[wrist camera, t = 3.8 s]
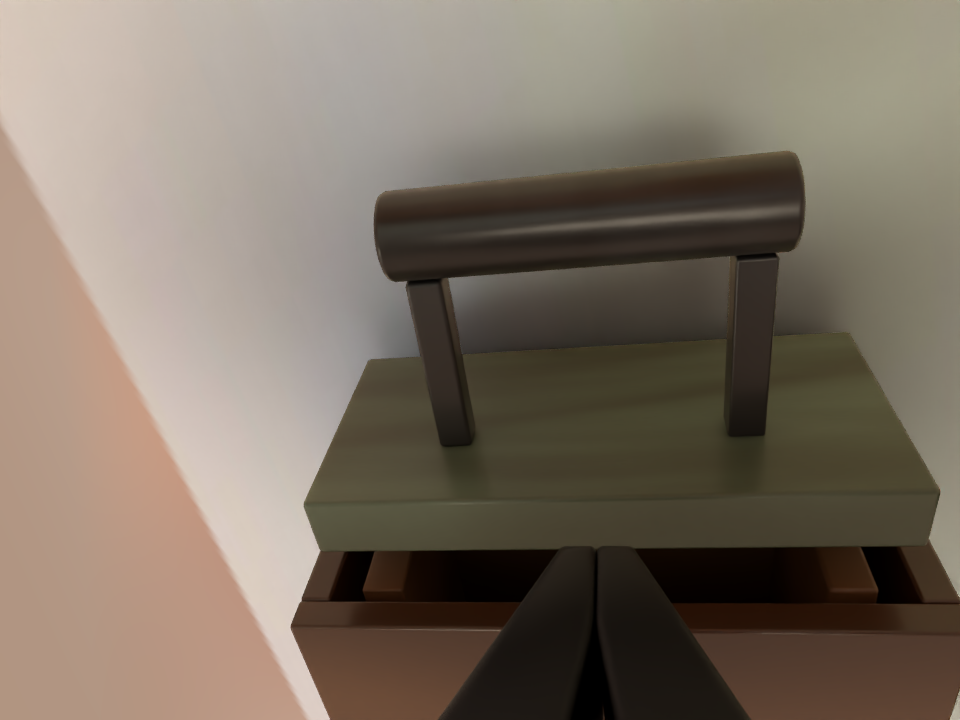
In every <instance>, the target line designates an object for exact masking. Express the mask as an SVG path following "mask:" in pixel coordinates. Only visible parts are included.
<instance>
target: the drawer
mask: <svg viewBox="0 0 960 720" xmlns="http://www.w3.org/2000/svg"><path fill="white" fill-rule="evenodd" d="M805 207H806V197H805V183H804V176H803V171H802V167H801V164H800V161H799V159H798V157H797V155H796V154H795V153H793V152H790V151H780V152H770V153H760V154H750V155H741V156H731V157H721V158H711V159H701V160H691V161H681V162H671V163H661V164H651V165H641V166H631V167H621V168H611V169H601V170H591V171H582V172H572V173H562V174H552V175H542V176H532V177H522V178H512V179H502V180H492V181H482V182H472V183H462V184H452V185H442V186H432V187H423V188H413V189H403V190H393V191H385V192H383V193H382V194H380V195H379V197H378V198H377V201H376V205H375V211H374V239H375V246H376V251H377V256H378V259H379V262H380V265H381V268H382V270H383V272H384V274H385V276H386V277H387V278H388V279H389V280H391V281H394V282H404V281H407V284H406V287H405V288H406V292H407V297H408V301H409V306H410V310H411V315H412V319H413V324H414V328H415V333H416V337H417V342H418V346H419V351H420V355H421V357H406V358H388V359H371V360H369V361H368V362H367V365H366V367H365V369H364V371H363V373H362V376H361V378H360V380H359V382H358V384H357V387H356V389H355V391H354V393H353V395H352V398H351V400H350V402H349V404H348V407H347V409H346V411H345V413H344V415H343V418H342V420H341V422H340V424H339V426H338V429H337V431H336V433H335V435H334V437H333V440H332V442H331V444H330V446H329V448H328V451H327V453H326V455H325V457H324V460H323V462H322V464H321V466H320V468H319V471H318V473H317V475H316V477H315V479H314V482H313V484H312V486H311V488H310V490H309V493H308V495H307V497H306V499H305V502H304V509H305V511H306V514H307V517H308V519H309V522H310V525H311V527H312V530H313V533H314V536H315V538H316V541H317V544H318V546H319V549H320V550H321V551H323V552H347V551H375V552H374V555H373V558H372V561H371V565H370V568H369V571H368V574H367V577H366V581H365V584H364V587H363V594H364V596H365V599H366V602H522V601H523V599H524V598H525V597H526V595H527V594H528V592H529V591H530V589H531V588H532V587H533V585H534V584H535V582H536V581H537V580H538V578H539V577H540V575H541V574H542V573H543V571H544V570H545V568H546V567H547V566H548V564H549V563H550V561H551V560H552V559H553V557H554V556H555V554H556V553H557V552H558V550H559V549H560V548H562V547H564V546H592V547H594V548H595V550H596V553H597V550H598V548H599V547H601V546H631V547H632V548H633V549H634V550H635V551H636V552H637V554H638V555H639V556H640V558H641V559H642V561H643V562H644V564H645V565H646V567H647V568H648V570H649V571H650V573H651V574H652V575H653V577H654V578H655V580H656V581H657V583H658V584H659V586H660V587H661V589H662V590H663V592H664V593H665V594H666V596H667V597H668V599H669V600H670V602H671V603H856V604H876V602H877V597H878V592H879V590H878V587H877V585H876V582H875V580H874V577H873V575H872V573H871V570H870V568H869V565H868V563H867V560H866V558H865V556H864V553H863V551H862V548H861V547H898V546H925V545H926V544H927V543H928V539H929V535H930V531H931V528H932V524H933V520H934V516H935V512H936V508H937V504H938V500H939V496H940V489H939V487H938V485H937V484H936V482H935V480H934V479H933V477H932V475H931V473H930V472H929V470H928V468H927V466H926V465H925V463H924V461H923V460H922V458H921V456H920V454H919V453H918V451H917V449H916V447H915V446H914V444H913V442H912V441H911V439H910V437H909V435H908V434H907V432H906V430H905V428H904V427H903V425H902V423H901V421H900V420H899V418H898V416H897V415H896V413H895V411H894V409H893V408H892V406H891V404H890V402H889V401H888V399H887V397H886V396H885V394H884V392H883V390H882V389H881V387H880V385H879V383H878V382H877V380H876V378H875V377H874V375H873V373H872V371H871V370H870V368H869V366H868V364H867V363H866V361H865V359H864V358H863V356H862V354H861V352H860V351H859V349H858V347H857V345H856V344H855V342H854V340H853V339H852V337H851V335H850V333H848V332H836V333H819V334H802V335H785V336H773V332H774V319H775V307H776V294H777V282H778V269H779V256H778V254H777V253H779V252H790V251H792V250H794V249H795V248H796V247H797V246H798V244H799V242H800V239H801V236H802V232H803V228H804V221H805ZM727 256H730V267H729V291H728V316H727V339H716V340H699V341H681V342H664V343H647V344H630V345H612V346H595V347H578V348H561V349H544V350H526V351H509V352H492V353H475V354H462V351H461V345H460V340H459V334H458V329H457V324H456V318H455V313H454V307H453V302H452V297H451V291H450V286H449V281H448V278H455V277H468V276H481V275H494V274H507V273H520V272H533V271H546V270H559V269H572V268H585V267H598V266H611V265H624V264H637V263H649V262H662V261H675V260H688V259H701V258H714V257H727Z"/></svg>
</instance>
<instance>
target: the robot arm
mask: <svg viewBox="0 0 960 720" xmlns="http://www.w3.org/2000/svg"><path fill="white" fill-rule="evenodd" d="M438 720H751V719H750V717H749V716H748V714H747V713H746V711H745V710H744V708H743V707H742V705H741V704H740V703H739V701H738V700H737V698H736V697H735V695H734V694H733V692H732V691H731V689H730V688H729V686H728V685H727V684H726V682H725V681H724V679H723V678H722V676H721V675H720V673H719V672H718V670H717V669H716V667H715V666H714V665H713V663H712V662H711V660H710V659H709V657H708V656H707V654H706V653H705V651H704V650H703V649H702V647H701V646H700V644H699V643H698V641H697V640H696V638H695V637H694V635H693V634H692V632H691V631H690V630H689V628H688V627H687V625H686V624H685V622H684V621H683V619H682V618H681V616H680V615H679V613H678V612H677V611H676V609H675V608H674V606H673V605H672V603H671V602H670V600H669V599H668V597H667V596H666V594H665V593H664V592H663V590H662V589H661V587H660V586H659V584H658V583H657V581H656V580H655V578H654V577H653V575H652V574H651V573H650V571H649V570H648V568H647V567H646V565H645V564H644V562H643V561H642V559H641V558H640V556H639V555H638V554H637V552H636V551H635V550H634V549H633V548H632V547H631V546H601V547H599V548H598V550H597V553H596V550H595V548H594V547H592V546H564V547H562V548H560V549H559V550H558V552H557V553H556V554H555V556H554V557H553V559H552V560H551V561H550V563H549V564H548V566H547V567H546V568H545V570H544V571H543V573H542V574H541V575H540V577H539V578H538V580H537V581H536V582H535V584H534V585H533V587H532V588H531V589H530V591H529V592H528V594H527V595H526V597H525V598H524V599H523V601H522V602H521V604H520V605H519V606H518V608H517V609H516V611H515V612H514V613H513V615H512V616H511V618H510V619H509V620H508V622H507V623H506V625H505V626H504V627H503V629H502V630H501V632H500V633H499V634H498V636H497V637H496V639H495V640H494V641H493V643H492V644H491V646H490V647H489V648H488V650H487V651H486V653H485V654H484V655H483V657H482V658H481V660H480V661H479V662H478V664H477V665H476V667H475V668H474V669H473V671H472V672H471V674H470V675H469V676H468V678H467V679H466V681H465V682H464V683H463V685H462V686H461V688H460V689H459V690H458V692H457V693H456V695H455V696H454V698H453V699H452V700H451V702H450V703H449V705H448V706H447V707H446V709H445V710H444V712H443V713H442V714H441V716H440V717H439V719H438Z"/></svg>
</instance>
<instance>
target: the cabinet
mask: <svg viewBox="0 0 960 720" xmlns="http://www.w3.org/2000/svg"><path fill="white" fill-rule="evenodd" d="M861 548H862V551H863V553H864V556H865V558H866V560H867V563H868V565H869V568H870V570H871V573H872V575H873V577H874V580H875V582H876V585H877V587H878V590H879V592H878V597H877V602H876V604H856V603H672V605H673V606H674V608H675V609H676V611H677V612H678V613H679V615H680V616H681V618H682V619H683V621H684V622H685V624H686V625H687V627H688V628H689V630H690V631H691V632H692V634H693V635H694V637H695V638H696V640H697V641H698V643H699V644H700V646H701V647H702V649H703V650H704V651H705V653H706V654H707V656H708V657H709V659H710V660H711V662H712V663H713V665H714V666H715V667H716V669H717V670H718V672H719V673H720V675H721V676H722V678H723V679H724V681H725V682H726V684H727V685H728V686H729V688H730V689H731V691H732V692H733V694H734V695H735V697H736V698H737V700H738V701H739V703H740V704H741V705H742V707H743V708H744V710H745V711H746V713H747V714H748V716H749V717H750V719H751V720H950V717H951V714H952V711H953V708H954V705H955V702H956V699H957V696H958V693H959V690H960V598H959V596H958V594H957V593H956V591H955V589H954V587H953V585H952V583H951V581H950V579H949V577H948V575H947V573H946V571H945V569H944V567H943V566H942V564H941V562H940V560H939V558H938V556H937V554H936V552H935V550H934V548H933V546H932V544H931V542H930V540H929V539H928V543H927V544H926V545H925V546H898V547H861ZM374 552H375V551H347V552H323V551H320V553H319V556H318V558H317V561H316V563H315V566H314V568H313V571H312V573H311V576H310V579H309V581H308V584H307V586H306V589H305V591H304V594H303V596H302V602H300V603H299V606H298V608H297V611H296V613H295V616H294V618H293V621H292V624H291V630H292V633H293V635H294V637H295V639H296V642H297V644H298V646H299V649H300V651H301V653H302V656H303V658H304V660H305V662H306V665H307V667H308V669H309V672H310V674H311V676H312V679H313V681H314V683H315V685H316V688H317V690H318V692H319V695H320V697H321V699H322V701H323V704H324V706H325V708H326V711H327V713H328V715H329V718H330V720H438V719H439V717H440V716H441V714H442V713H443V712H444V710H445V709H446V707H447V706H448V705H449V703H450V702H451V700H452V699H453V698H454V696H455V695H456V693H457V692H458V690H459V689H460V688H461V686H462V685H463V683H464V682H465V681H466V679H467V678H468V676H469V675H470V674H471V672H472V671H473V669H474V668H475V667H476V665H477V664H478V662H479V661H480V660H481V658H482V657H483V655H484V654H485V653H486V651H487V650H488V648H489V647H490V646H491V644H492V643H493V641H494V640H495V639H496V637H497V636H498V634H499V633H500V632H501V630H502V629H503V627H504V626H505V625H506V623H507V622H508V620H509V619H510V618H511V616H512V615H513V613H514V612H515V611H516V609H517V608H518V606H519V605H520V604H521V602H366V599H365V596H364V594H363V587H364V584H365V581H366V577H367V574H368V571H369V568H370V565H371V561H372V558H373V555H374Z"/></svg>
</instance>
